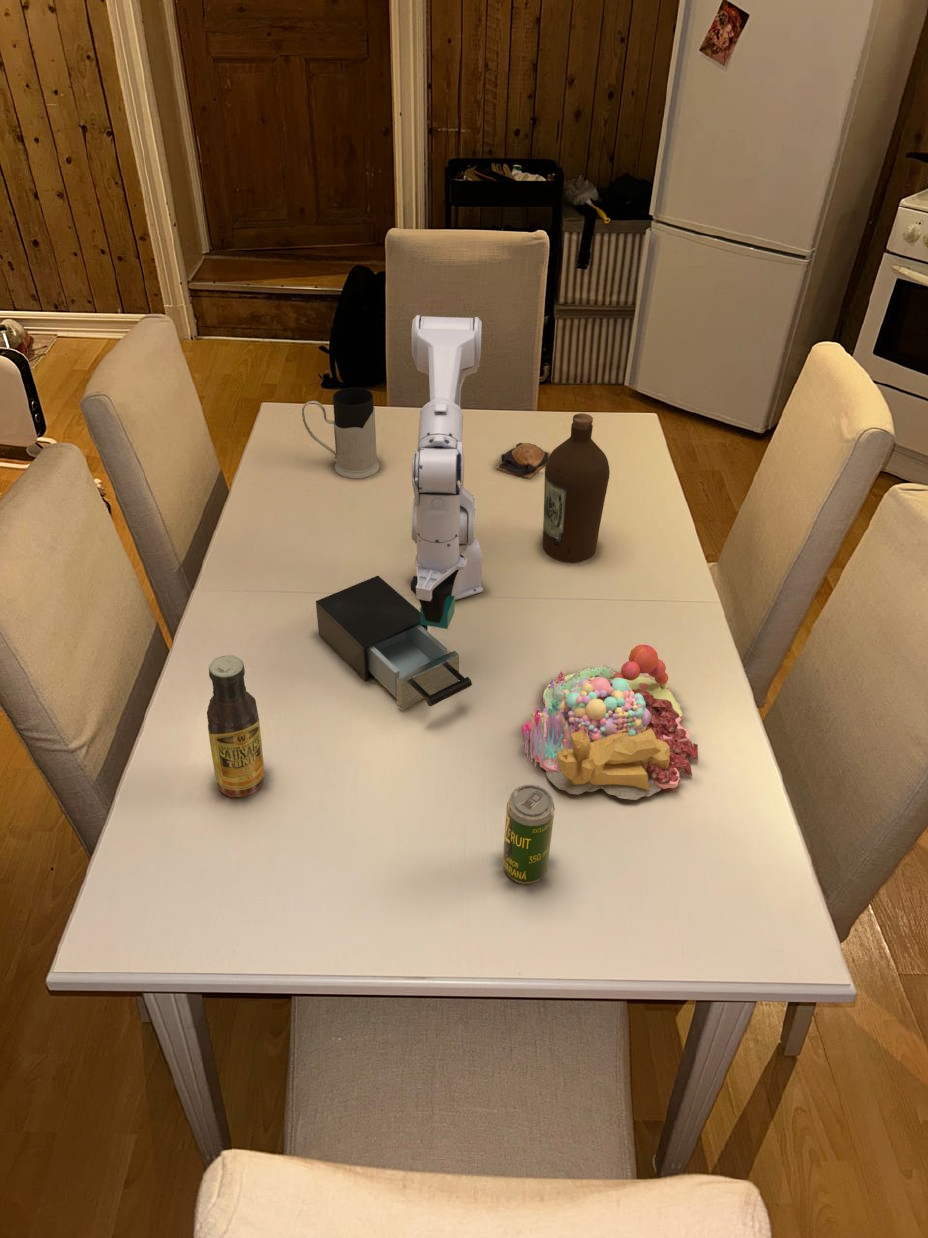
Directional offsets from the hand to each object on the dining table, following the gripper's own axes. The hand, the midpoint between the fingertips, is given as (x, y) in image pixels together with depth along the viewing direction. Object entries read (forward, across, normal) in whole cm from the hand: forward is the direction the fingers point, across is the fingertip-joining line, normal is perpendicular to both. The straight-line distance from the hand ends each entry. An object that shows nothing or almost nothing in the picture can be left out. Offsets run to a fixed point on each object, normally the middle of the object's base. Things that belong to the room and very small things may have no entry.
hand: (437, 610), depth 136 cm
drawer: (+10, -5, +2) cm, 11 cm away
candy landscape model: (+11, -8, -26) cm, 29 cm away
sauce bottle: (+11, -29, +18) cm, 36 cm away
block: (+1, 0, 0) cm, 1 cm away
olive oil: (+11, +36, -14) cm, 40 cm away
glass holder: (+11, +52, +34) cm, 62 cm away
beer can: (+11, -32, -20) cm, 39 cm away
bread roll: (+11, +63, 0) cm, 64 cm away
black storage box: (+10, +2, +11) cm, 15 cm away
